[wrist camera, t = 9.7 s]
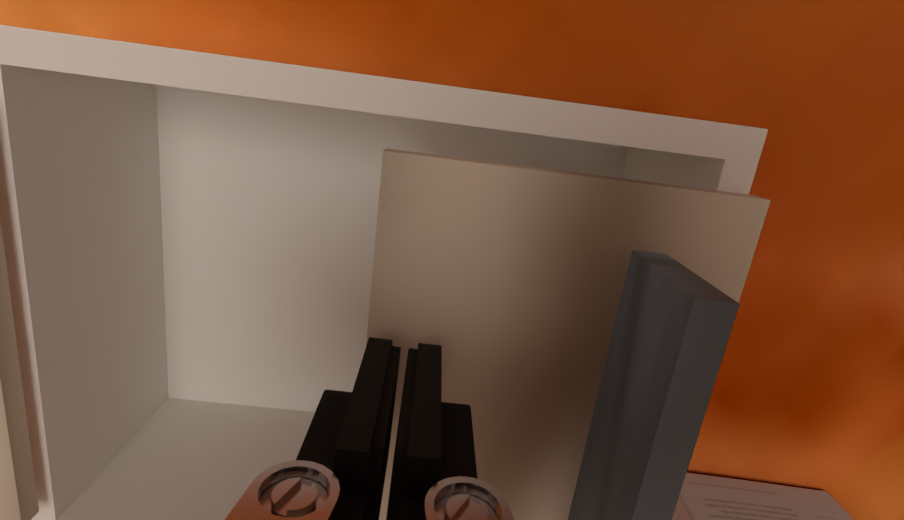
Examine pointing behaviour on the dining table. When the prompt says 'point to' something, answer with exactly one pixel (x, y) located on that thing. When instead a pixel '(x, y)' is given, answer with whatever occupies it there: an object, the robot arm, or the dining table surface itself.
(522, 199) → the lid panel
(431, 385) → the robot arm
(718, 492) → the small box
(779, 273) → the dining table surface
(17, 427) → the lid panel
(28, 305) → the carton
